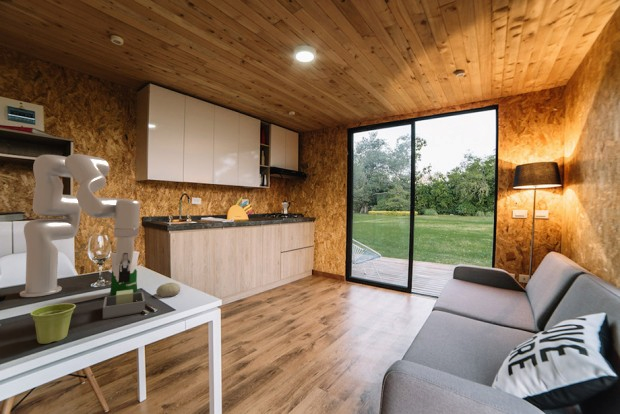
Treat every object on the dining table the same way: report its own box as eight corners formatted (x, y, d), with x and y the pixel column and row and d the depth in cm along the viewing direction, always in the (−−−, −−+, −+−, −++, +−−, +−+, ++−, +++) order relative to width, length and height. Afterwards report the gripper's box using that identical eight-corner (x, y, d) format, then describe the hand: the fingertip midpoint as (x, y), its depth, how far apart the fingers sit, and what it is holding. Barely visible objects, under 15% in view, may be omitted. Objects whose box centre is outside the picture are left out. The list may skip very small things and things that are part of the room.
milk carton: (124, 289, 122) (125, 245, 122) (141, 291, 120) (142, 246, 120) (106, 295, 114) (107, 248, 113) (123, 297, 112) (125, 249, 112)
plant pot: (49, 331, 81) (50, 303, 81) (82, 331, 82) (83, 303, 82) (18, 347, 72) (19, 315, 72) (56, 347, 73) (57, 315, 73)
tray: (104, 307, 100) (104, 296, 100) (142, 301, 107) (143, 291, 107) (102, 319, 90) (103, 307, 90) (144, 312, 97) (145, 301, 97)
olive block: (116, 307, 100) (116, 291, 100) (132, 304, 102) (132, 289, 102) (115, 311, 96) (116, 295, 96) (132, 309, 98) (133, 293, 98)
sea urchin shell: (151, 290, 116) (165, 275, 120) (164, 300, 120) (177, 285, 124) (158, 295, 110) (173, 279, 114) (172, 305, 114) (186, 289, 118)
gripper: (114, 230, 104) (112, 273, 104) (113, 236, 90) (110, 286, 90) (137, 230, 108) (135, 271, 108) (139, 235, 94) (136, 283, 94)
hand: (123, 278), depth 99 cm, fingers open, 9 cm apart
